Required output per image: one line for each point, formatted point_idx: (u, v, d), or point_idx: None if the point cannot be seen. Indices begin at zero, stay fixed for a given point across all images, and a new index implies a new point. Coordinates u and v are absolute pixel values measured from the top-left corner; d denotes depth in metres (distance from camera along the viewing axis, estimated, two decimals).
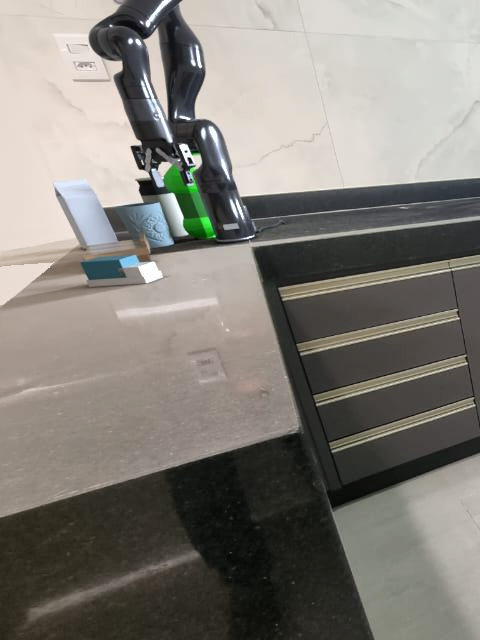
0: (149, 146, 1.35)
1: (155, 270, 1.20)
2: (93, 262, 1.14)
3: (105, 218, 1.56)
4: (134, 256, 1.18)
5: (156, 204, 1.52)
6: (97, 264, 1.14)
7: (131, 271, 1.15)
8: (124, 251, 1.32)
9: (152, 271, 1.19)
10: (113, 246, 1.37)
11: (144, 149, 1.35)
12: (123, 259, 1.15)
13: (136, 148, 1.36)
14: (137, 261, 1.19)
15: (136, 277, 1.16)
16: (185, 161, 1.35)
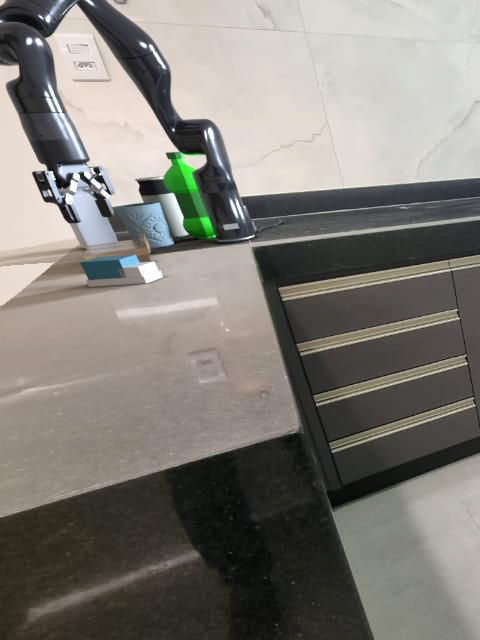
0: None
1: (155, 270, 1.20)
2: (93, 262, 1.14)
3: (105, 218, 1.56)
4: (134, 256, 1.18)
5: (156, 204, 1.52)
6: (97, 264, 1.14)
7: (131, 271, 1.15)
8: (124, 251, 1.32)
9: (152, 271, 1.19)
10: (113, 246, 1.37)
11: None
12: (123, 259, 1.15)
13: None
14: (137, 261, 1.19)
15: (136, 277, 1.16)
16: None
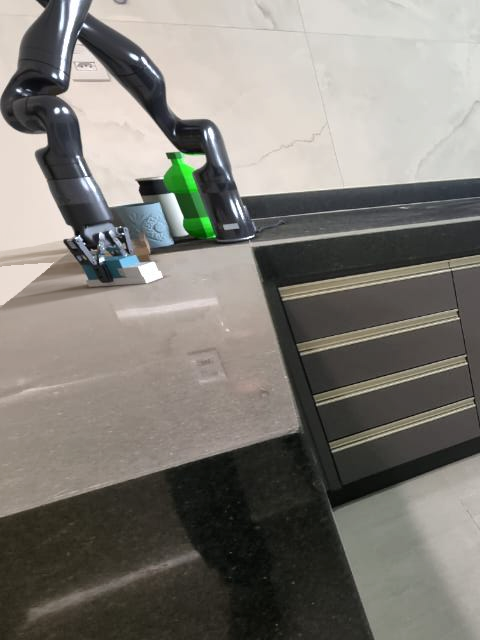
0: None
1: (155, 270, 1.19)
2: None
3: None
4: (134, 256, 1.18)
5: (156, 204, 1.52)
6: None
7: (131, 271, 1.15)
8: None
9: (151, 271, 1.19)
10: None
11: None
12: (123, 259, 1.15)
13: None
14: (137, 261, 1.19)
15: (136, 277, 1.16)
16: None
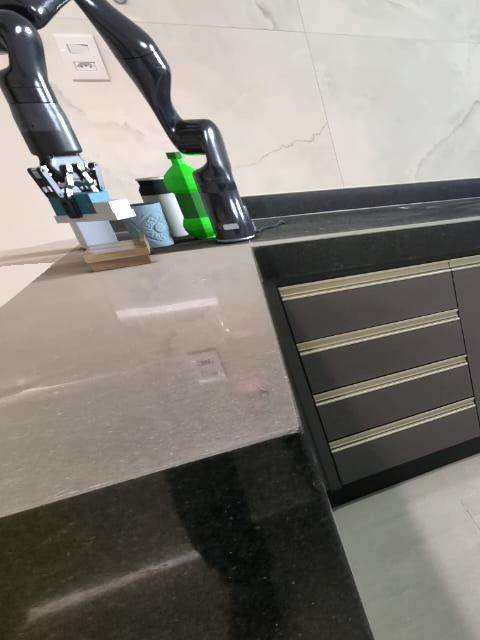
0: None
1: (127, 208, 1.14)
2: None
3: None
4: (105, 192, 1.12)
5: (156, 204, 1.52)
6: None
7: (101, 206, 1.10)
8: (124, 251, 1.32)
9: (123, 208, 1.13)
10: (113, 246, 1.37)
11: None
12: (93, 194, 1.09)
13: None
14: (108, 198, 1.13)
15: (107, 213, 1.10)
16: None
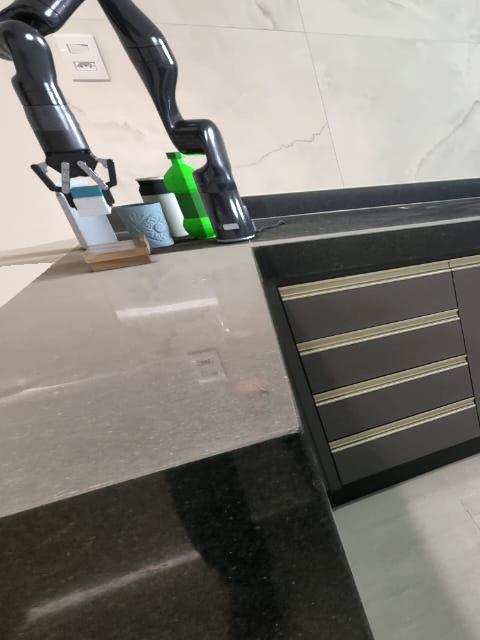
0: None
1: (101, 206, 1.18)
2: (71, 189, 1.20)
3: (105, 218, 1.56)
4: (95, 189, 1.19)
5: (156, 204, 1.52)
6: None
7: None
8: (124, 251, 1.32)
9: (95, 206, 1.18)
10: (113, 246, 1.37)
11: None
12: (77, 190, 1.17)
13: None
14: (99, 194, 1.20)
15: None
16: None
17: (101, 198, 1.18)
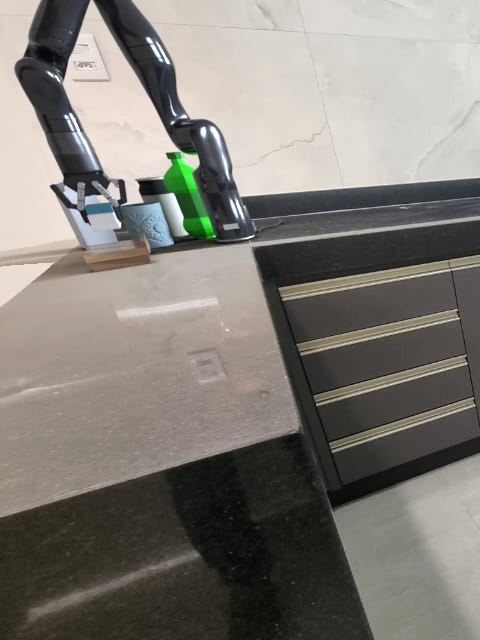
0: None
1: (112, 221, 1.31)
2: (85, 206, 1.33)
3: None
4: (107, 206, 1.32)
5: (156, 204, 1.52)
6: None
7: None
8: (124, 251, 1.32)
9: (106, 222, 1.30)
10: (113, 246, 1.37)
11: None
12: (91, 207, 1.30)
13: None
14: (110, 211, 1.32)
15: (91, 225, 1.29)
16: None
17: (112, 214, 1.31)
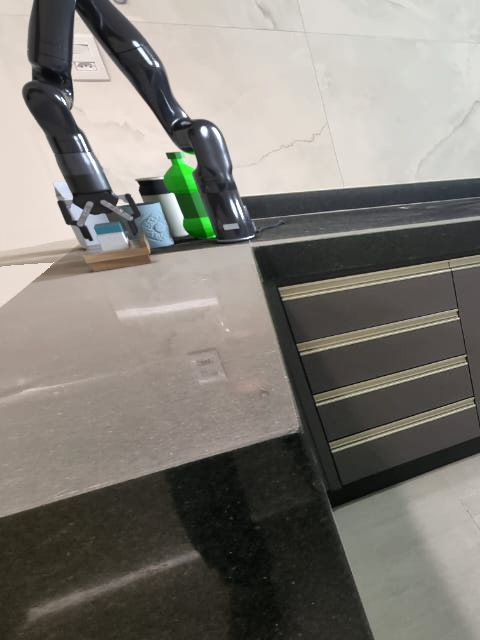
0: None
1: (121, 241, 1.33)
2: (95, 226, 1.35)
3: (105, 218, 1.56)
4: (116, 226, 1.34)
5: (156, 204, 1.52)
6: None
7: None
8: (124, 251, 1.32)
9: (115, 242, 1.32)
10: None
11: None
12: (100, 227, 1.32)
13: None
14: (119, 230, 1.34)
15: None
16: None
17: (121, 234, 1.33)
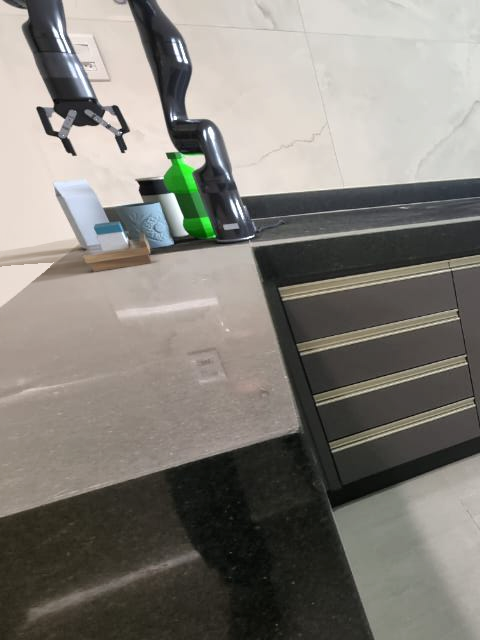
0: None
1: (121, 241, 1.33)
2: (95, 226, 1.35)
3: (105, 218, 1.56)
4: (116, 226, 1.34)
5: (156, 204, 1.52)
6: None
7: None
8: (124, 251, 1.32)
9: (115, 242, 1.32)
10: None
11: None
12: (100, 227, 1.32)
13: None
14: (119, 230, 1.34)
15: None
16: None
17: (121, 234, 1.33)
